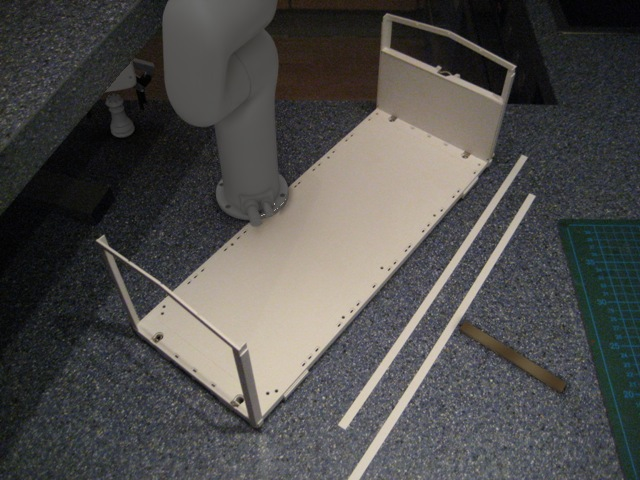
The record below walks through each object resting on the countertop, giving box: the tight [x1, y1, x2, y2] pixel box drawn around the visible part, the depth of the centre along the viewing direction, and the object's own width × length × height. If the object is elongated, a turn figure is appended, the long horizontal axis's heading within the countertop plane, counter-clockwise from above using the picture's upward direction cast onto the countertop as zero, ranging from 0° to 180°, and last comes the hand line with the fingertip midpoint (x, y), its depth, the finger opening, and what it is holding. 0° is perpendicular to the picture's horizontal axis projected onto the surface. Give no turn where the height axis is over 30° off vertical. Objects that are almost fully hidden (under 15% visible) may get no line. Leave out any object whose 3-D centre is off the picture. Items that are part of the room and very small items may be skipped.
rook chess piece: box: [105, 92, 136, 139], centre depth 117 cm, size 4×4×8 cm
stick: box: [459, 320, 567, 394], centre depth 88 cm, size 16×2×1 cm, turn 51°
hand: (115, 109), depth 117 cm, fingers open, 9 cm apart
